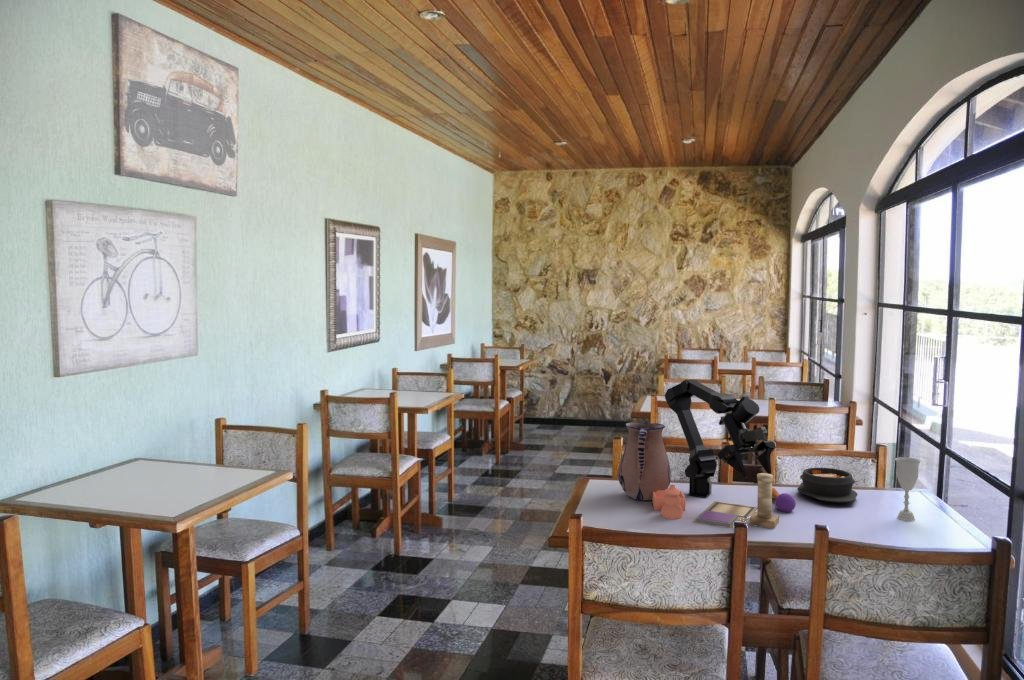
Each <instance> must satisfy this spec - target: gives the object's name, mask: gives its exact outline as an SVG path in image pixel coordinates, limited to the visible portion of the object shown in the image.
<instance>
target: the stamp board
mask: <svg viewBox="0 0 1024 680" xmlns="http://www.w3.org/2000/svg"><path fill="white" fill-rule="evenodd" d="M705 510H708V511H715V512H722V513H729V514H736V515H738V519H737V520H736V521H741V522H745V521H746V522H745V524H746V523H747V522H748V521H747V520H750V518H748V519H747V517H749V516H752V515H753V513H754V512H757V506H752V505H745V504H737V503H730V502H723V501H713V502H712V503H711V504H710V505H709V506H708V507H707V508H706V509H705ZM705 510H704V511H705ZM704 511H702V512H701V513H700V514H699V515H701V514H702V513H703V512H704ZM741 515H743V516H741ZM743 518H744V519H743ZM740 519H741V520H740ZM743 520H744V521H743ZM692 523H695V524H696V523H697V524H702V525H709V526H716V527H721V528H722V527H723V528H727V529H728V528H729V529H734V528H733V524H732V525H731V526H730V527H726V526H719V525H713V524H706V523H700V522H696V518H695V519H694V520H692Z"/></svg>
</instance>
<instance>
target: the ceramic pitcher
mask: <svg viewBox="0 0 1024 680" xmlns="http://www.w3.org/2000/svg"><path fill="white" fill-rule="evenodd" d="M625 426H626V429H627V431H628V434H627V438H626V439H627V440H626V443H625V446H624V449H623V453H622V455H621V459H620V461H619V465H618V471H617V478H618V482H619V485H620V487H621V488H622V490H623V491H624V493H625V494H626V495H627V496H629V497H630V498H632V499H634V500H636V499H637V501H652V494H653V491H654V492H656V491H657V490H666V489H667V488H670V485H671V480H672V475H671V473H672V471H671V466H670V461H669V460H670V459H669V457H668V454H667V451H666V448H665V444H664V441H663V431H664V429H665V428H666V425H665V424H663V423H657V422H655V423H654V422H652V423H650V421H645V420H644V421H641V422H636V421H635V422H634V421H631V422H627V423H625Z"/></svg>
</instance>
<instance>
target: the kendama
mask: <svg viewBox="0 0 1024 680" xmlns="http://www.w3.org/2000/svg"><path fill="white" fill-rule="evenodd" d="M772 499H773V500H774V499H775V501H774V503H775V504H774V505H775V507H776V508H777V510H778V511H780V512H784V513H791V512H793V511H794V510H795V508H796V505H797V504H796V500H795V498H794V497H793V496H792V494H789V493H786V492H785V493H783V492H782V493H780V494H779V492H778V491H777V489H776V488H774V487H772Z"/></svg>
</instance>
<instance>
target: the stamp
mask: <svg viewBox="0 0 1024 680" xmlns="http://www.w3.org/2000/svg"><path fill="white" fill-rule="evenodd" d="M756 480H757V506H756V507H757V510H756V511H755V512H754V513H753V515H752V516H751V517H750V518H749V526H753V525H757V526H756V527H760V526H762V527H761V528H766V527H768V528H767V529H773V528H774V529H776V527H777V525H779V523H780V515H779V514H774V513H772V511H773V506H772V505H773V498H772V488H773V482H774V475H773V474H772V473H771V474H768V473H767V472H765V473H764V472H761V473H757V474H756Z"/></svg>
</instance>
